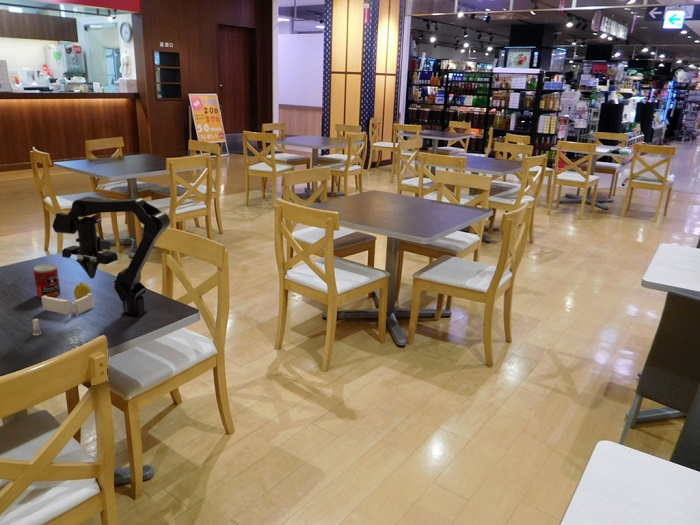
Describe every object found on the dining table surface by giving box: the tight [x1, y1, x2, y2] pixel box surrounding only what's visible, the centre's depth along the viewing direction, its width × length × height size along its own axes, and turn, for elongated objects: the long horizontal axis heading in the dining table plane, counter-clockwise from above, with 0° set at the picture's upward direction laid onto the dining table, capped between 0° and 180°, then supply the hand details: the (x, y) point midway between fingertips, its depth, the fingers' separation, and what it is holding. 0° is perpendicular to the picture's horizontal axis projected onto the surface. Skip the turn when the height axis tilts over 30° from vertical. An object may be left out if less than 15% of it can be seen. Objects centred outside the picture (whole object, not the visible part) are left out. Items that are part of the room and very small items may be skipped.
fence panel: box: [73, 293, 95, 315], centre depth 190 cm, size 2×7×5 cm, turn 162°
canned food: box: [33, 263, 61, 299], centre depth 201 cm, size 8×8×11 cm
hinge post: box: [69, 301, 77, 318], centre depth 186 cm, size 2×2×5 cm
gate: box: [40, 296, 71, 316], centre depth 188 cm, size 10×2×5 cm, turn 72°
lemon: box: [73, 282, 92, 301], centre depth 196 cm, size 6×6×8 cm
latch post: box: [32, 318, 43, 337], centre depth 172 cm, size 2×2×5 cm
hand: (92, 278), depth 188 cm, fingers closed
